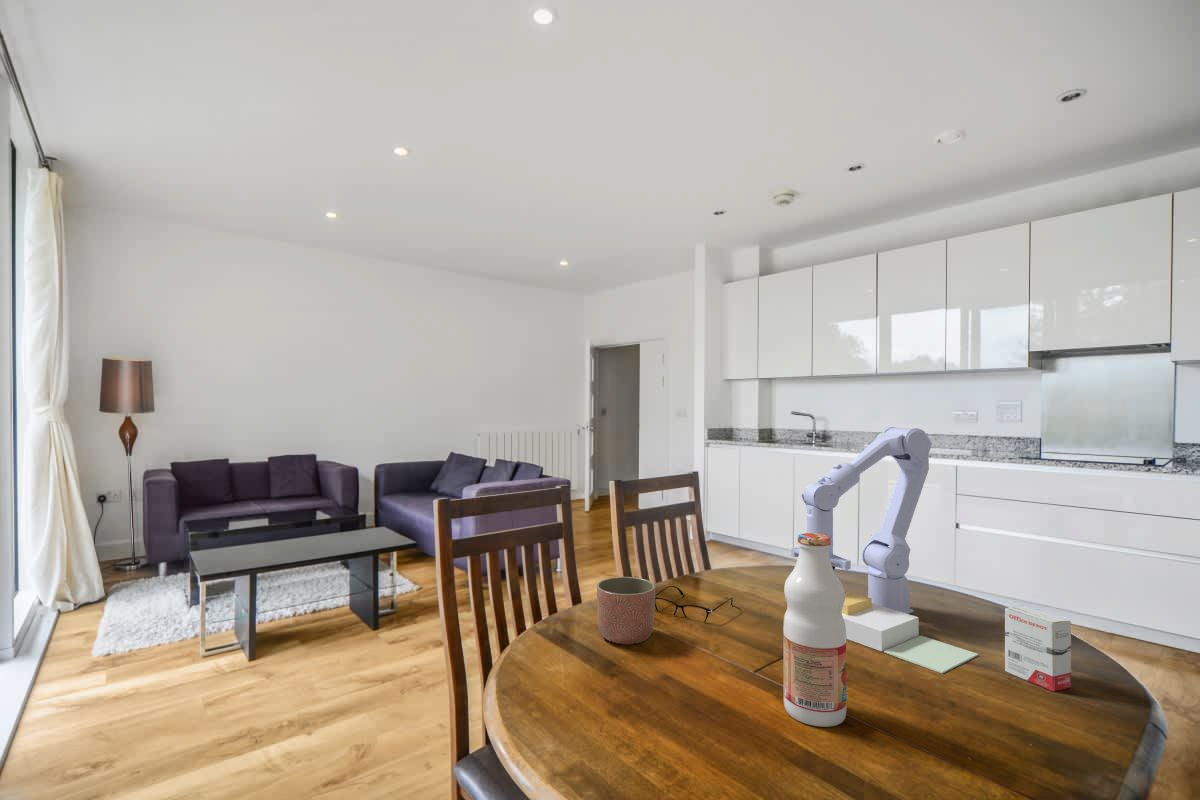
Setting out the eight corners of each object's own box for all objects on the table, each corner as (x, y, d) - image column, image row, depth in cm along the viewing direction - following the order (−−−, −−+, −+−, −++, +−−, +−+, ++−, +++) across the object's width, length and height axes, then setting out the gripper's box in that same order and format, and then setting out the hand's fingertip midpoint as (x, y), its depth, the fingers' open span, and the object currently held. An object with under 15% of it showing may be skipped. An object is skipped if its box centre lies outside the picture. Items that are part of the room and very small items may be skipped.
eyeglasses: (647, 612, 138) (647, 595, 138) (678, 595, 151) (678, 579, 151) (712, 627, 129) (712, 609, 129) (738, 607, 142) (738, 591, 142)
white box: (827, 606, 141) (827, 589, 141) (918, 636, 123) (918, 617, 123) (789, 617, 134) (789, 600, 134) (881, 651, 115) (881, 631, 115)
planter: (587, 643, 119) (587, 590, 119) (609, 622, 130) (609, 574, 131) (645, 653, 114) (645, 597, 114) (662, 630, 126) (662, 580, 126)
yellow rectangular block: (847, 599, 134) (847, 591, 134) (871, 607, 129) (871, 598, 129) (823, 607, 129) (823, 598, 129) (847, 615, 124) (847, 605, 124)
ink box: (1072, 687, 100) (1072, 619, 101) (1053, 692, 99) (1053, 622, 99) (1022, 667, 109) (1021, 603, 109) (1003, 671, 107) (1003, 606, 107)
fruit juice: (772, 701, 96) (772, 531, 96) (823, 694, 98) (822, 528, 98) (804, 732, 87) (804, 544, 87) (859, 724, 89) (859, 541, 89)
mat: (921, 636, 123) (921, 635, 123) (978, 655, 113) (978, 653, 113) (884, 652, 115) (884, 650, 115) (942, 673, 106) (942, 672, 106)
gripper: (783, 531, 139) (783, 588, 139) (837, 543, 127) (837, 605, 127) (801, 528, 143) (801, 583, 143) (856, 539, 131) (856, 600, 131)
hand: (819, 593), depth 135 cm, fingers closed
